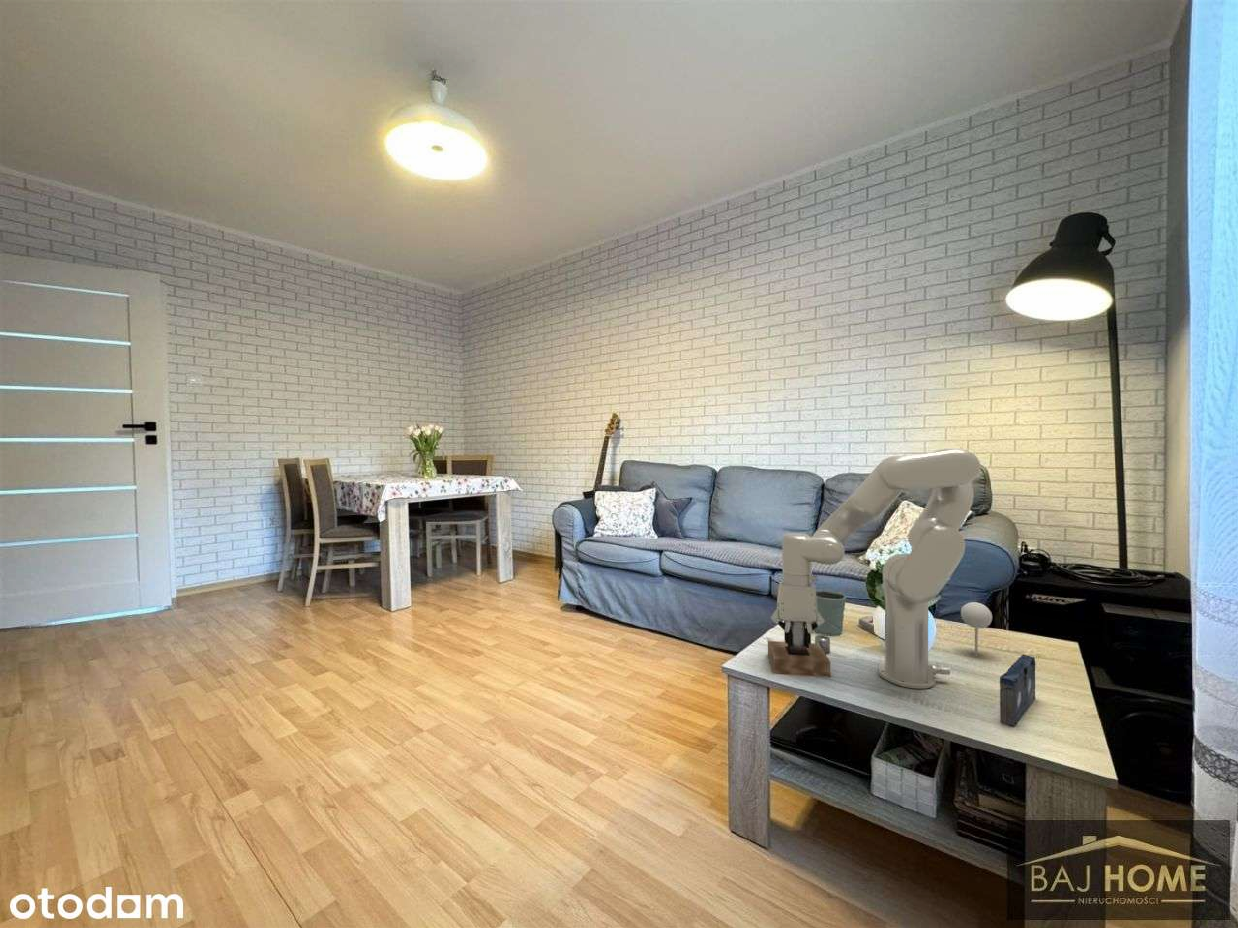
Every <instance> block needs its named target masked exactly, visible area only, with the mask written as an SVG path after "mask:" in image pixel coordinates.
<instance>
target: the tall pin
mask: <svg viewBox="0 0 1238 928" xmlns="http://www.w3.org/2000/svg"><path fill="white" fill-rule="evenodd" d="M805 628H806V627H805V622H791V624H790V632H791V647H790V655H804V656H806V650H805Z"/></svg>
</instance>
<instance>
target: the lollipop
mask: <svg viewBox="0 0 1238 928" xmlns="http://www.w3.org/2000/svg"><path fill="white" fill-rule="evenodd" d="M960 616H961V619H962V621H963V622H964V623H965V624H966V625H967V626H969V627H970V628H974V656H976V657H977V656H979V653H978V652H979V648H978V647H979V645H978V644H979V639H978V638H979V631H978V630H979V629H985V628H988V627H989V626H990V625H991V623H992V621H993V614H992V611H991V610H990V609H989V608H988V606H986V605H985V604H983V603H980V602H976V601H972V602H967V603H966V604H964V605H963V606H962V607H961V610H960Z"/></svg>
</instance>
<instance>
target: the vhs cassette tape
mask: <svg viewBox="0 0 1238 928" xmlns="http://www.w3.org/2000/svg"><path fill="white" fill-rule="evenodd" d="M1036 664H1037V663H1036V658H1035V657H1034V656H1031V655H1030V656H1029V655H1026V654H1022V655H1021V656H1020V657H1018V658H1017V660H1015V662H1013V663H1012V664H1011V665H1010V667H1009V668H1008V669H1007V671H1006V672H1004V673H1002V675H1001V676H1000V677H999V687H1000V689H999V705H1000V707H999V708H1000V709H999V710H1000V712H999V713H1000V714H999V715H1000V717H999V718H1000V720H999V721H1000V723H1002V724H1004V725H1006V726H1010V727H1013V728H1016V726H1017V725H1018V724H1019V722H1020V720H1021V719H1022V718H1023V717H1024V715H1025V714H1026V713H1027V711H1028V710H1029V708H1030V707H1031V706H1032V704H1033V703H1034V701H1035V700H1036Z"/></svg>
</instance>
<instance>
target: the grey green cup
mask: <svg viewBox="0 0 1238 928" xmlns="http://www.w3.org/2000/svg"><path fill="white" fill-rule="evenodd" d="M815 590H816V589H815ZM816 596H817V606H818V612H819V613H820V615H821V616H822V618H823V619H824V621H825V622H824V623H823V624H821V625H819V626H818V627H817V628H816V629H814V630H813V631H814V632H816V633H817V634H819V635H820V634H821V635H822V636H828V637H830V636H831V637H836V636H837V637H838V636H840V635H842V633H843V628H844V626H843V625H844V623H843V622H844V616H845V614H844V613H845V607H846V601H847V600H846V599H847V596H846V595H845V594H843V593H841V592H839V591H834V590H833V591H832V590H828V589H827V590H825V589H823V590H822V589H818V590H816Z"/></svg>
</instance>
